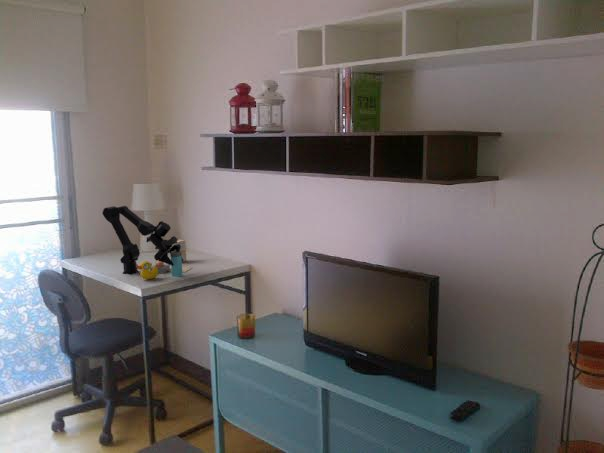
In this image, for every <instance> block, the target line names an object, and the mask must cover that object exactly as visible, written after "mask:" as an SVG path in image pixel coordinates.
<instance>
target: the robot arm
mask: <svg viewBox="0 0 604 453" xmlns="http://www.w3.org/2000/svg"><path fill="white" fill-rule="evenodd" d="M102 215H103V217H104V219H105V220H106V221H107V222H108V223H110V224H111V227H112V228H113V230H114V232H115V234H116V236H117V238H118V240H119V242H120V244H121V246H122V254H123V256H122V257H121V258H120V260H119V261H120V263H121V264H122V265H123V272H122V274H125V275H126V274H130V275H133V274H135V273H138V271H139V269H137V267H136V265H138V264H137V261H138V259H139V257H140V254H141V252H140V248H139V246H138V245H137V243H135V244H134V243H132V240H130V238H129V236H128V233H127V232H126V229H125V227H124V225H123V224H122V222H121V218H120V217H121V216H123V217H124V218H125V219H126V220H128V221H129V222H130V223H132V224H133V225H134V226H135V227H136V228H137V231H138V232H139V234H141V235H142V236H144V237H146V236H148V237H146V243H150V242H151V243H152V244H153V246H154V247H155V248H154V249H155V250H158V251H157V252H156V253H155V254H154V257H153V258H154V260H155V262H156V261H161V262H164V264H169V265H170V267H171V266H173V265H174V264H173V262H172V261H171V257H169V255H168V254H170V253H172V252H180V249H181V246H180V245H179V244H175V243H177V240H179V239H178V238H177V237H176V236H175V235H174V236H171V237H170V238H169V239H164V238H165V236H166V235H167V234H168V233H169V232H170V230H171V225H169V224H168V223H166V222H164V221H162V220H160V221H159V223H158V224H156V225H154V224H153V223H151V222H148V221H145V220H144V219H142V218H141V217H139V216H138V215H137V214H136V213H134V212H133V211H132V210H131V209H130V208H128V206H126V205H122V206H118V207H117V206H115V205H113V206H112V205H111V206H108V207H104V208H103V210H102ZM120 215H121V216H120ZM173 244H175V245H173ZM172 246H173V247H172ZM171 247H172V248H171ZM181 258H182V256H181ZM182 263H184V262H183V259H182Z"/></svg>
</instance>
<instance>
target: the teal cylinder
mask: <svg viewBox="0 0 604 453" xmlns="http://www.w3.org/2000/svg"><path fill="white" fill-rule="evenodd" d="M169 254H170V260H171V261H172V262H173V264H174V265H173V266H171V265H170V268H171V269H172V272H171V276H172V277H173V278H179V277H182V276H183V272H182V267H183V262H182V258H181V256H182V254H181V252H172V253H169Z"/></svg>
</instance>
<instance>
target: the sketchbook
mask: <svg viewBox="0 0 604 453" xmlns="http://www.w3.org/2000/svg"><path fill="white" fill-rule="evenodd" d="M191 269H193V267H192V266H182V273H187V272H188V271H189V270H191ZM167 273H172V268H170V270H168V271H167Z"/></svg>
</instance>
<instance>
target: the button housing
mask: <svg viewBox="0 0 604 453" xmlns="http://www.w3.org/2000/svg"><path fill="white" fill-rule="evenodd" d="M154 266H156V264H154V265H152V266H151V268H150V270H149V271H152V269H153V267H154ZM157 268H158V274H165V273H166V272H167V271H168V270H170V269H171V265H169V264H167V263H164V266H163V267H157ZM167 273H168V272H167Z"/></svg>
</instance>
